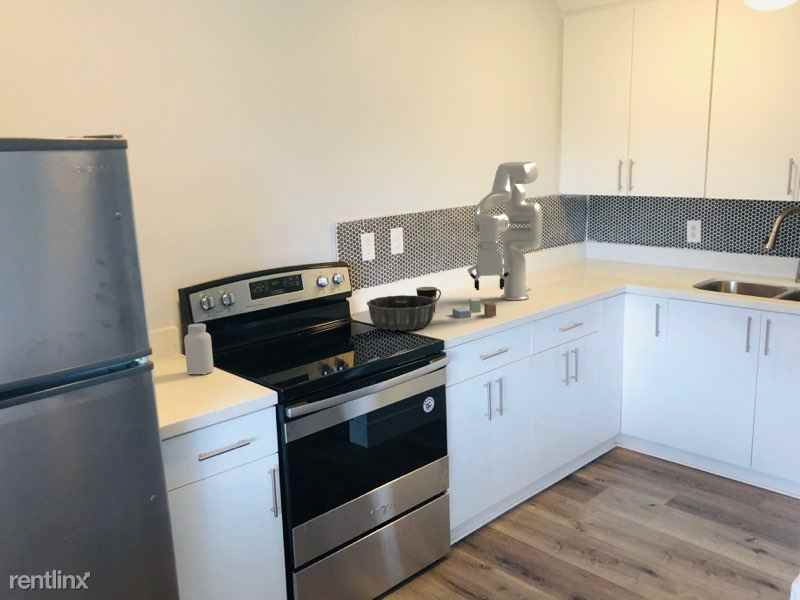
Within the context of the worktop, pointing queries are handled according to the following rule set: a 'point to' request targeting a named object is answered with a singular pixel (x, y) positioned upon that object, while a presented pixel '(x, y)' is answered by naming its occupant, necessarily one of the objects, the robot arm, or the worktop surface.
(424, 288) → the coffee mug
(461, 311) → the slate block
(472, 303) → the sage block
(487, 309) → the walnut block
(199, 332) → the pill bottle
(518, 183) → the robot arm
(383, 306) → the bundt pan
